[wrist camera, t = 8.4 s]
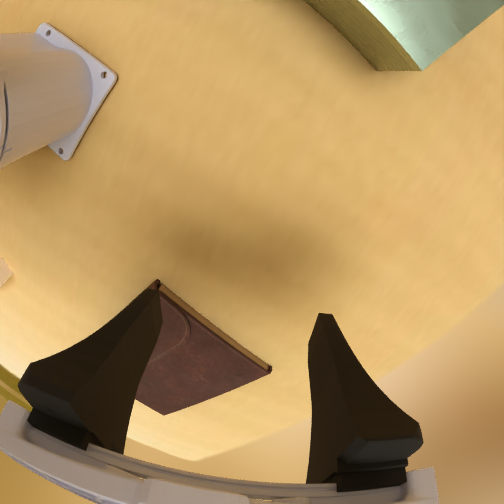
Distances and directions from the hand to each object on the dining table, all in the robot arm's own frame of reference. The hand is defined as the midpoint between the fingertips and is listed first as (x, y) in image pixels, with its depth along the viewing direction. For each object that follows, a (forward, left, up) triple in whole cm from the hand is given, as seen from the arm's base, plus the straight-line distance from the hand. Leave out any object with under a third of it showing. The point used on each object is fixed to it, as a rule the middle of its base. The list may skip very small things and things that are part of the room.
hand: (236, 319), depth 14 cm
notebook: (+5, -20, -11) cm, 23 cm away
